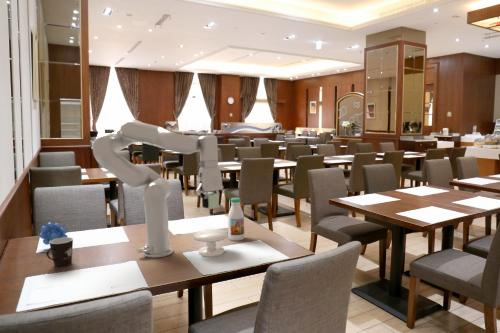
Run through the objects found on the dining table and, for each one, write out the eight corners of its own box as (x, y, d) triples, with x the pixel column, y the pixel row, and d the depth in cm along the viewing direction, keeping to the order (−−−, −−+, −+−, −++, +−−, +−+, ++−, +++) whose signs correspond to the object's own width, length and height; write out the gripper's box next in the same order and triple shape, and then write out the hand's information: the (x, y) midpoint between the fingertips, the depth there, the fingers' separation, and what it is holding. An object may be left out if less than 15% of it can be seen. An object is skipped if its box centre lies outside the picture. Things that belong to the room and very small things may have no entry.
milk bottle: (225, 239, 186) (224, 199, 184) (233, 235, 193) (232, 196, 190) (239, 241, 182) (238, 200, 180) (247, 237, 189) (246, 197, 187)
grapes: (40, 252, 173) (38, 226, 171) (40, 248, 178) (38, 222, 177) (69, 247, 178) (67, 222, 177) (67, 243, 184) (66, 219, 183)
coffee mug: (68, 258, 163) (66, 236, 162) (78, 263, 158) (76, 239, 157) (39, 267, 154) (37, 243, 153) (49, 272, 149) (47, 247, 148)
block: (209, 209, 163) (209, 195, 162) (202, 207, 166) (201, 193, 165) (218, 207, 166) (218, 193, 165) (211, 205, 170) (210, 192, 169)
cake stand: (209, 261, 158) (208, 241, 157) (187, 253, 168) (186, 234, 167) (235, 252, 169) (235, 233, 168) (213, 244, 179) (212, 227, 178)
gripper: (198, 167, 155) (200, 211, 157) (229, 163, 167) (230, 204, 170) (187, 165, 160) (189, 208, 163) (218, 162, 173) (219, 201, 175)
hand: (210, 205), depth 166 cm, fingers closed on block, 5 cm apart
